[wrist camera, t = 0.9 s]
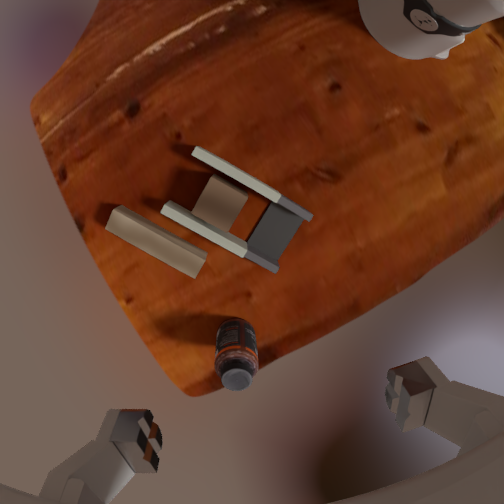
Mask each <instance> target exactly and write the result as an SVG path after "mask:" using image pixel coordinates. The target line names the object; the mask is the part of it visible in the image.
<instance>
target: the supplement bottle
mask: <svg viewBox="0 0 504 504" xmlns="http://www.w3.org/2000/svg"><path fill="white" fill-rule="evenodd" d="M215 370H216V373H217V374H218V376H219V377H220V378H221V382H222V384H223V385H224V387H226V388H227V389H229V390H232V391H241V390H244V389H246V388H248V387H249V386H250V385H251V383H252V378H253V377H254V376H255V374H256V373H257V371H258V354H257V345H256V336H255V331H254V328H253V327H252V325H251V324H250V323H249V322H247V321H245V320H242V319H237V318H236V319H230V320H227V321H225V322H224V323H222V324H221V325H220V327H219V329H218V331H217V339H216V352H215Z"/></svg>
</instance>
